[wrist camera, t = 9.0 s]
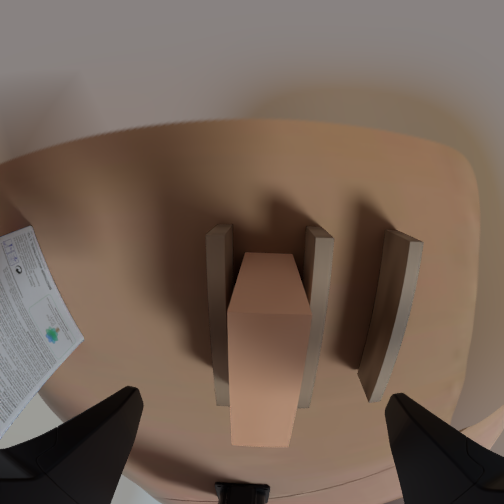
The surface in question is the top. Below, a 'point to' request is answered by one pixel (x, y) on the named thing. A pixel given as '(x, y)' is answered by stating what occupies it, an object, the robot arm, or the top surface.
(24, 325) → the ink cartridge box
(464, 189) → the top surface
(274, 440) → the terracotta block
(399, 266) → the slot rack
